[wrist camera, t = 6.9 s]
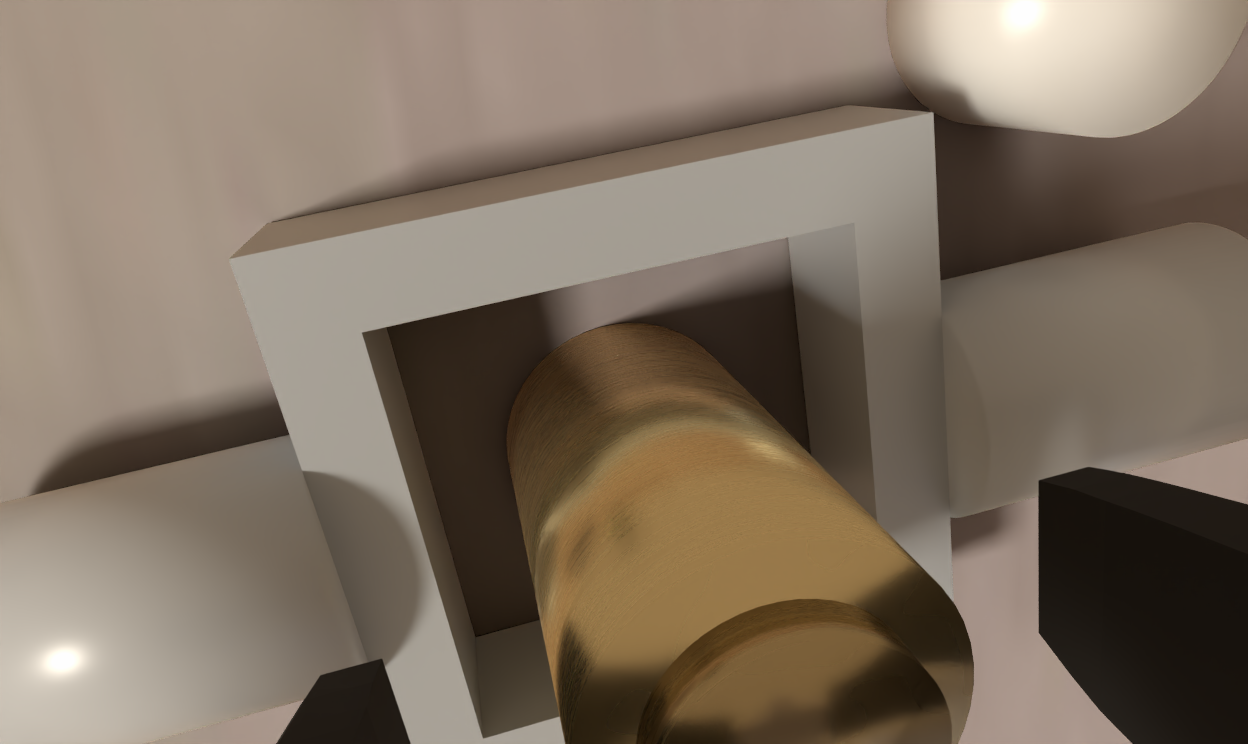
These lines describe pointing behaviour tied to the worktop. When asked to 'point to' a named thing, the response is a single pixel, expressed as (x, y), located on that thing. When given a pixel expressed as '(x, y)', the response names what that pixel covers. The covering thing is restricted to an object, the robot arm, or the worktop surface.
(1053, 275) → the fitting socket
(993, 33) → the pipe cap
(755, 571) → the gold metal cylinder
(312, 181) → the worktop surface
